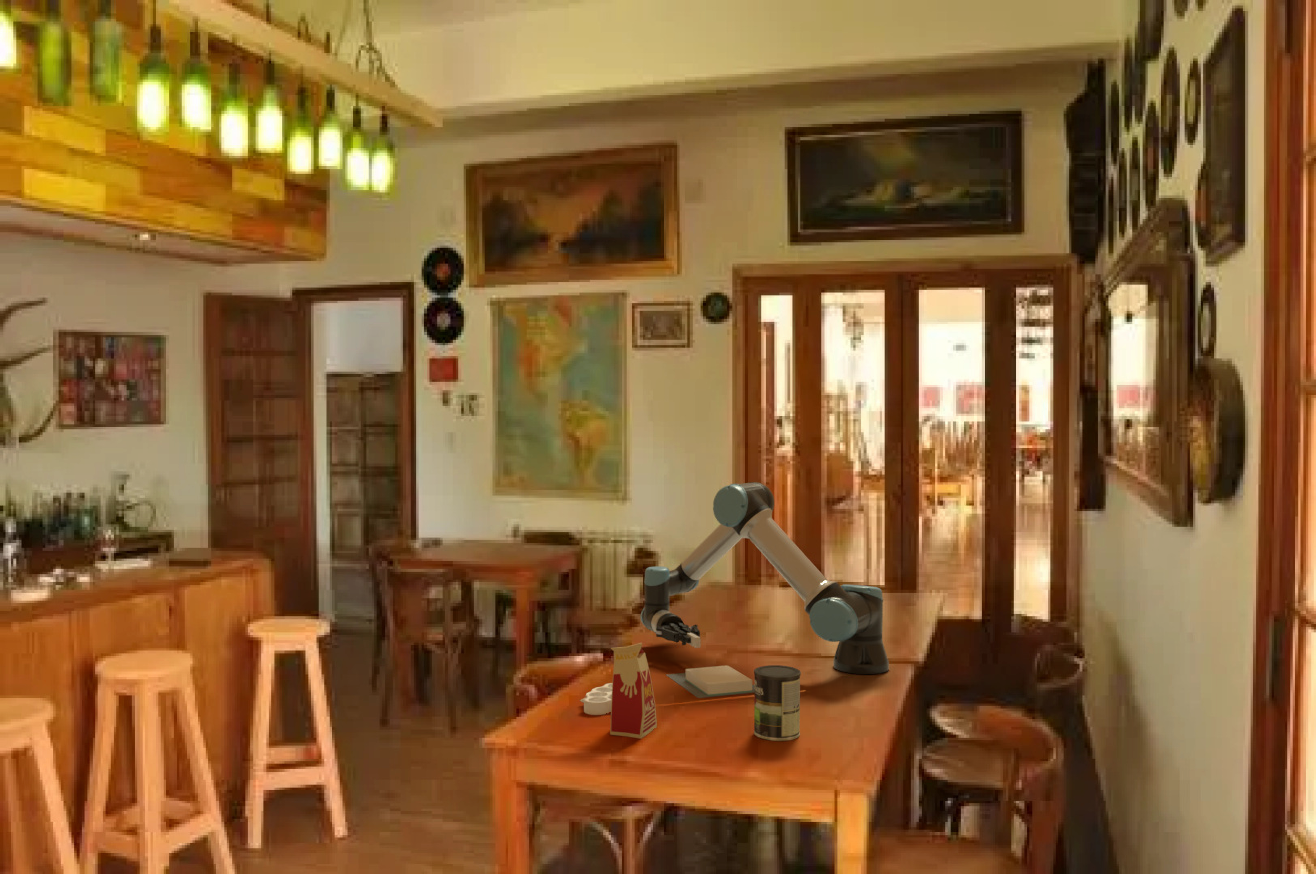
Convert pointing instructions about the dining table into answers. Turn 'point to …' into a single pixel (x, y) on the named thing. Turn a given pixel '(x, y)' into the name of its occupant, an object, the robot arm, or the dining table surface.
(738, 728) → the dining table surface
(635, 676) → the milk carton
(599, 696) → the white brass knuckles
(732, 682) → the tile
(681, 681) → the mat
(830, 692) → the dining table surface
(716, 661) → the dining table surface
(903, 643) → the dining table surface
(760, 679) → the coffee can
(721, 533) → the robot arm
